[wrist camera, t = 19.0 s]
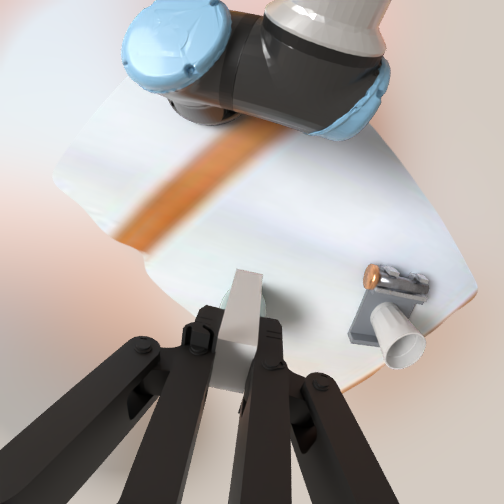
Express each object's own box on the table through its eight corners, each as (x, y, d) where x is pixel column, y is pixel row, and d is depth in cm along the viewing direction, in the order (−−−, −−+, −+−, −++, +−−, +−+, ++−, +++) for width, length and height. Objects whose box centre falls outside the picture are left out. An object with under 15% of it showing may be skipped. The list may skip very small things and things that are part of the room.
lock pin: (361, 282, 50) (368, 293, 45) (369, 260, 48) (377, 269, 44) (416, 294, 50) (425, 304, 46) (424, 274, 48) (435, 283, 44)
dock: (369, 282, 51) (374, 290, 48) (418, 292, 51) (424, 300, 48) (347, 333, 55) (351, 343, 52) (395, 340, 55) (400, 349, 52)
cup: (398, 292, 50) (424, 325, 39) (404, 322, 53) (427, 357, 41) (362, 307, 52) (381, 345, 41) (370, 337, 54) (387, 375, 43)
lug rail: (377, 260, 49) (385, 269, 45) (426, 272, 49) (436, 282, 45) (369, 282, 51) (376, 293, 47) (418, 292, 51) (427, 303, 47)
